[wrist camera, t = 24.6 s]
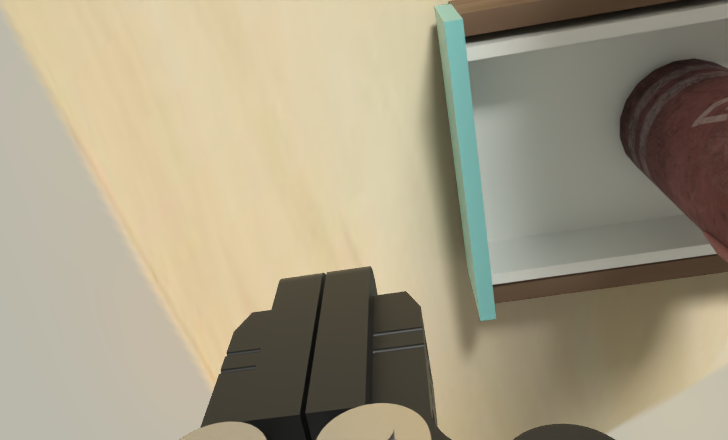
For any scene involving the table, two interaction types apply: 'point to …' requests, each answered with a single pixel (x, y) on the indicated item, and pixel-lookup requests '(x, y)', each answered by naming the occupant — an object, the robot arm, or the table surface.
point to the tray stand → (542, 5)
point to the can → (684, 140)
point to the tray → (564, 141)
